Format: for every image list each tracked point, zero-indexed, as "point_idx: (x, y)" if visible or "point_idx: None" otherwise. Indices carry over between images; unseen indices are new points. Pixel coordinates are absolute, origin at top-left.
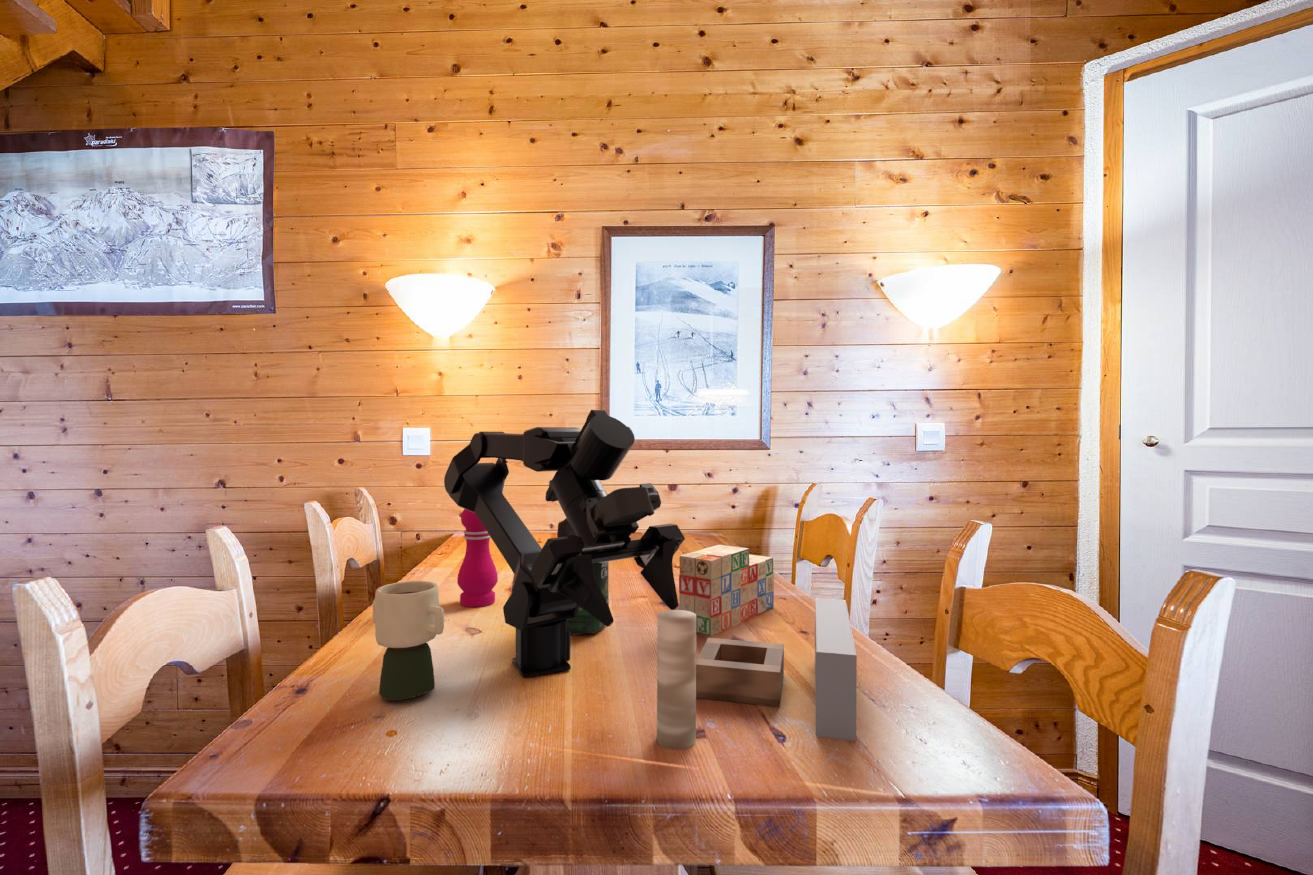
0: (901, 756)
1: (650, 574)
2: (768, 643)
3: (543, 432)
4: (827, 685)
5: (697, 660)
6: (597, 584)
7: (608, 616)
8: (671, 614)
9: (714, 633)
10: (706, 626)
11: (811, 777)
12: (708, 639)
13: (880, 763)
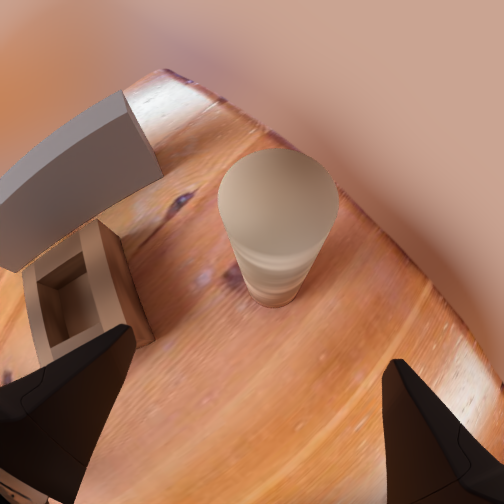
0: (158, 123)
1: (67, 468)
2: (25, 289)
3: None
4: (140, 132)
5: None
6: (448, 450)
7: (409, 367)
8: (283, 211)
9: None
10: None
11: (237, 146)
12: None
13: (178, 126)
